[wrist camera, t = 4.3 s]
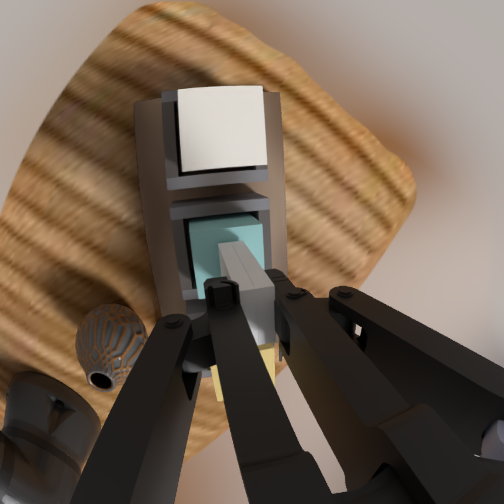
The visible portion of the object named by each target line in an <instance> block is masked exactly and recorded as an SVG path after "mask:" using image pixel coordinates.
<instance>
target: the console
mask: <svg viewBox="0 0 504 504" xmlns="http://www.w3.org/2000/svg"><path fill="white" fill-rule="evenodd" d="M262 87H263V86H262ZM263 102H264V117H265V133H266V150H267V165H254V166H239V167H226V168H214V169H204V170H194V171H186V172H182V159H181V146H180V130H179V111H178V90H171V91H163V92H161V98H157V99H150V100H144V101H138V102H134V122H135V141H136V156H137V168H138V178H139V188H140V196H141V204H142V212H143V219H144V226H145V233H146V239H147V245H148V251H149V256H150V262H151V267H152V272H153V278H154V282H155V287H156V292H157V297H158V301H159V305H160V310H161V314H162V317H164V316H166V315H169V314H184V315H187V316H188V317H189V318H190V319H191V320H194V319H196V318H199V317H200V316H202V315H203V314H204V313H205V312H206V310H207V306H206V299H199V297H198V291H197V285H196V278H195V271H194V264H193V256H192V249H191V241H190V233H189V218H193V217H202V216H210V215H219V214H228V213H238V212H248V213H249V214H251V215H252V216H253V217H254V218H256V219H257V220H258V221H259V222H260V223H262V226H263V246H264V268H265V270H268V269H278V270H280V271H282V272H283V273H284V274H285V275H286V277H287V225H286V195H285V171H284V151H283V134H282V118H281V103H280V92H263ZM278 342H279V337H278V335H277V333H276V342H272V344H273V346H274V343H278ZM274 364H275V360H274ZM205 377H212V372H211V367H209V368H206V369H204V370H202V377H201V378H205Z"/></svg>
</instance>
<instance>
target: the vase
mask: <svg viewBox="0 0 504 504" xmlns="http://www.w3.org/2000/svg"><path fill="white" fill-rule="evenodd" d="M147 339H148V335H147V331H146V328H145V326H144V324H143V322H142V320H141V319H140V318H139V316H138V315H137V314H136V313H135V312H134V311H132V310H131V309H129V308H127V307H125V306H123V305H120V304H114V303H109V304H103V305H100V306H98V307H96V308H94V309H93V310H91V311H90V312H89V313H88V314H87V315H86V316H85V317H84V319H83V320H82V322H81V324H80V326H79V328H78V331H77V334H76V343H75V346H76V354H77V358H78V361H79V363H80V365H81V367H82V368H83V370H84V372H85V373H86V378H87V381H88V383H89V384H90V385H91V386H92V387H93V388H95V389H96V390H98V391H102V392H110V391H112V390H113V389H115V388H116V387H117V386H119V385H122V384H124V383H125V381H126V379H127V377H128V375H129V373H130V371H131V369H132V367H133V365H134V364H135V362H136V360H137V358H138V356H139V354H140V352H141V350H142V349H143V347H144V345H145V343H146V341H147Z"/></svg>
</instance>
